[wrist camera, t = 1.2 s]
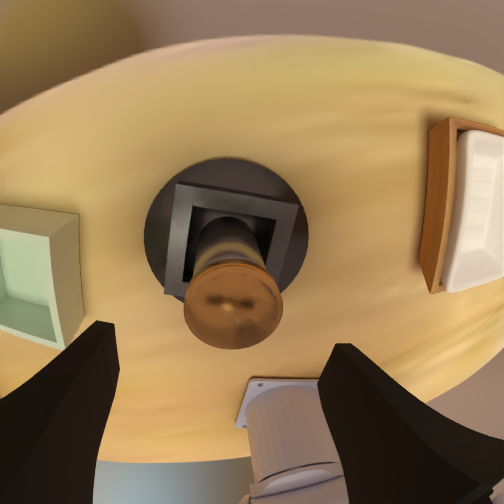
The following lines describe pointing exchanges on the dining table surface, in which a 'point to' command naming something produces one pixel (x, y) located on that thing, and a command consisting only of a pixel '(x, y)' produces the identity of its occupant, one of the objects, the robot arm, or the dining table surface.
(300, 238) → the mount
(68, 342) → the bin
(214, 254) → the jar with copper lid
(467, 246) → the soap dish
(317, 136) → the dining table surface
